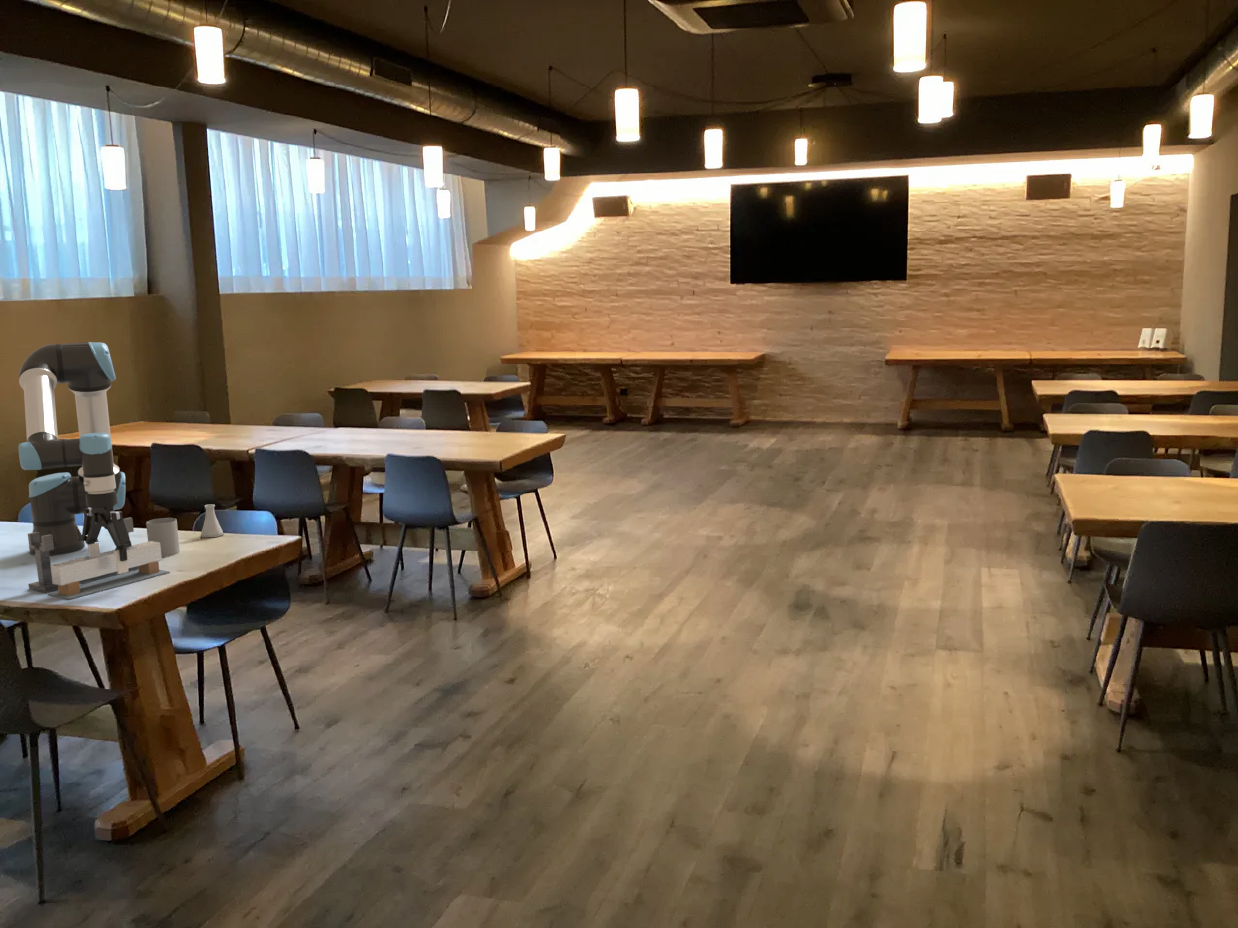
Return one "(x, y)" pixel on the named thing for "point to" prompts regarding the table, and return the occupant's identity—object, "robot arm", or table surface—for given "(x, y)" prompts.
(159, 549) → the white bar
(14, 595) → the table surface
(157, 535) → the cup
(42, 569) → the hook stand
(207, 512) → the flask
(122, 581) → the mat
